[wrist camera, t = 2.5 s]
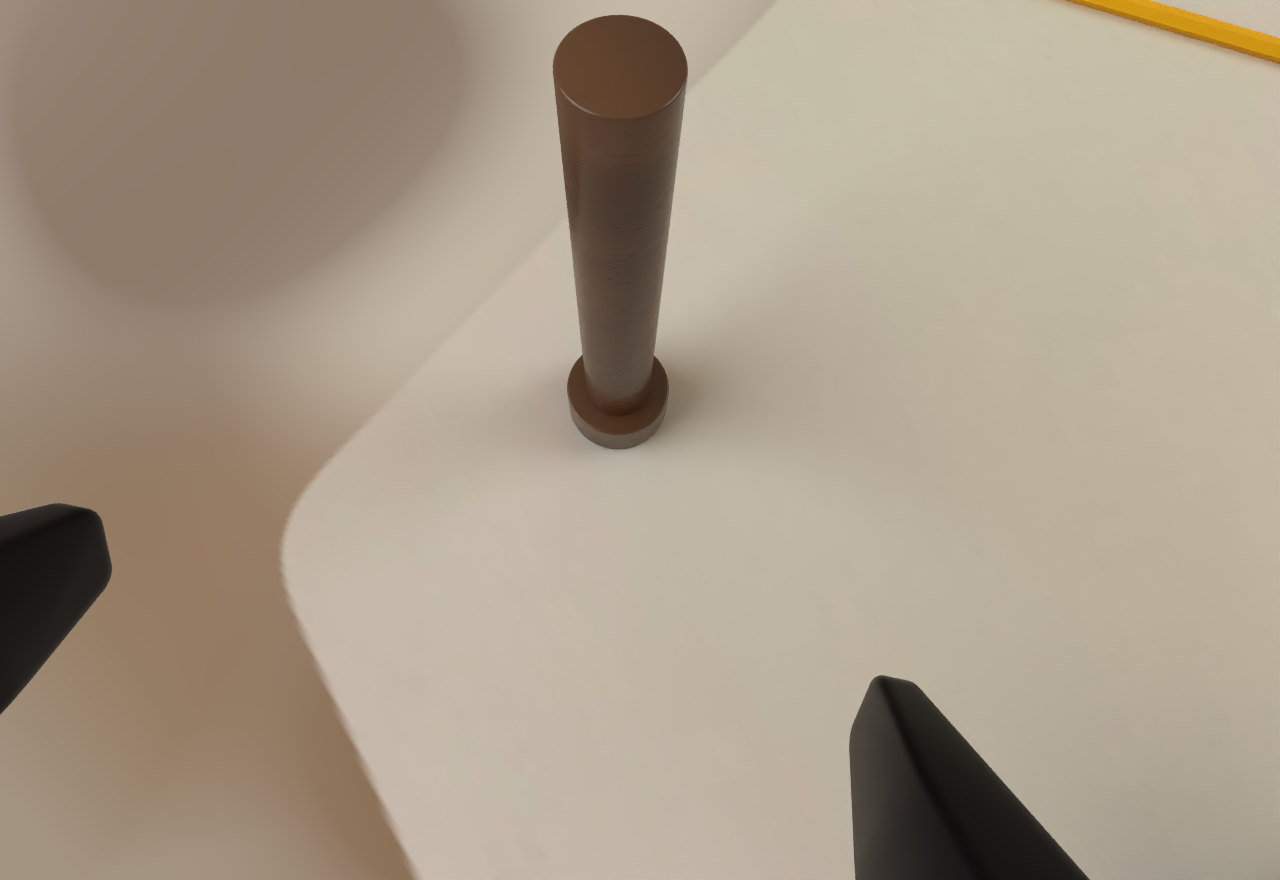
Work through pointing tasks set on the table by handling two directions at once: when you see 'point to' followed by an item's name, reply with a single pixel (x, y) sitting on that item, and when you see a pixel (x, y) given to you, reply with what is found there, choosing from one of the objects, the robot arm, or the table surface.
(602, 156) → the muddler
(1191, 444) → the table surface
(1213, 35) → the pencil
